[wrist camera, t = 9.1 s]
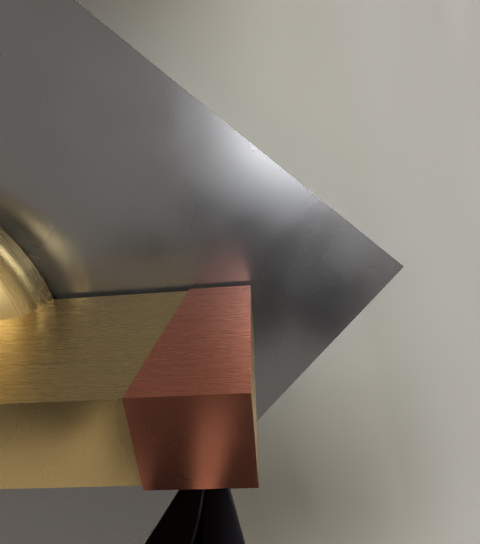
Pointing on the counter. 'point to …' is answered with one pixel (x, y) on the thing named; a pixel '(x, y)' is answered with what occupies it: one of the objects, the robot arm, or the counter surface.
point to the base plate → (155, 226)
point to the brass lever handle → (124, 386)
